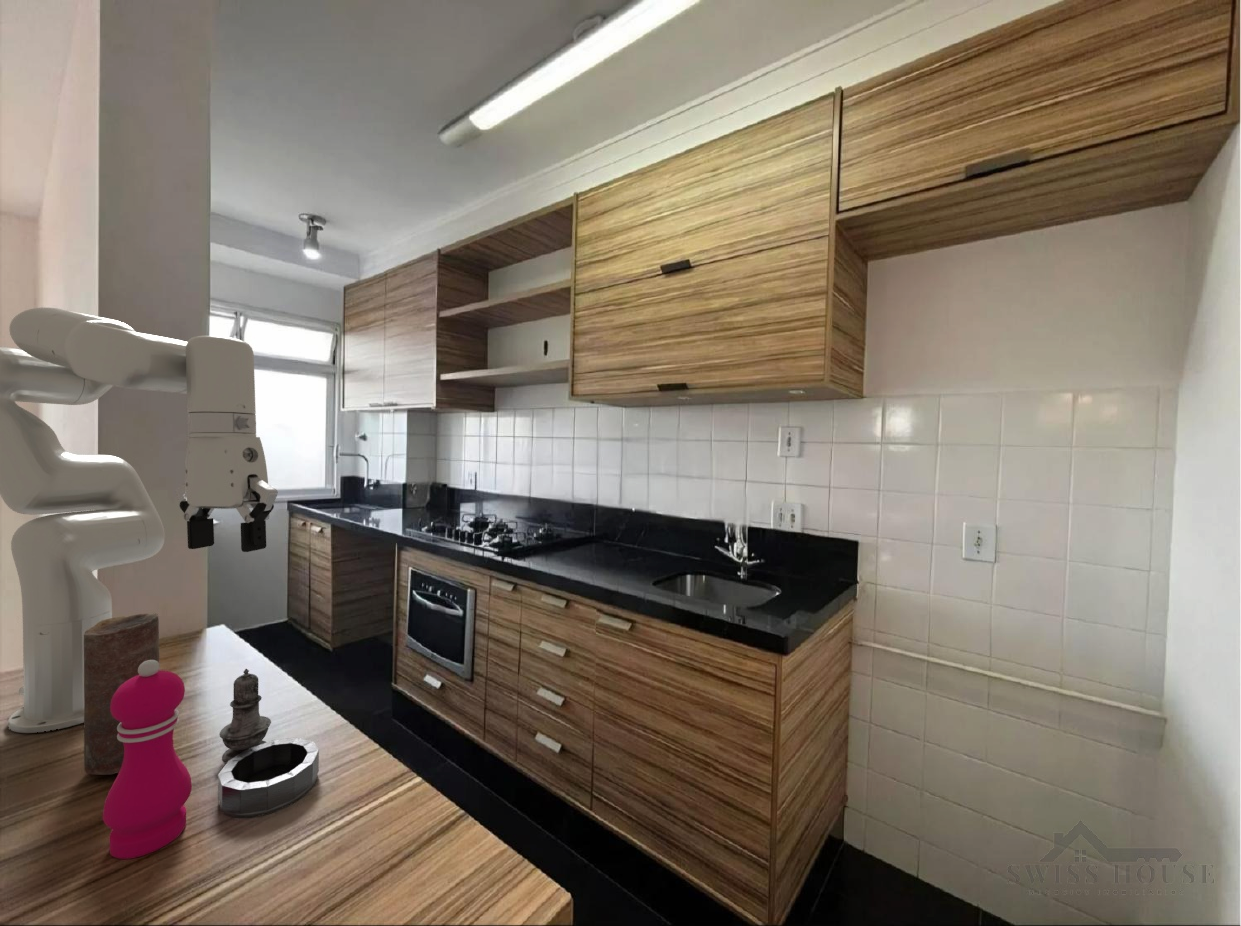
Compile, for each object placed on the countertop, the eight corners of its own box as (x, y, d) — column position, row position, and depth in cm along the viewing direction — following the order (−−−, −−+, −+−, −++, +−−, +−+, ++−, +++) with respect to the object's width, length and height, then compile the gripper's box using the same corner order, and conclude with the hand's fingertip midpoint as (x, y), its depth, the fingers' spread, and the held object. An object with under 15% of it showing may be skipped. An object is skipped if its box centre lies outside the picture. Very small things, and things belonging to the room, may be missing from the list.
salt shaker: (243, 768, 69) (244, 680, 68) (208, 761, 70) (208, 675, 69) (280, 743, 74) (281, 662, 74) (247, 737, 76) (247, 657, 75)
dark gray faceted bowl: (197, 807, 61) (197, 779, 61) (274, 757, 71) (274, 733, 71) (265, 826, 59) (266, 796, 59) (335, 771, 69) (335, 746, 68)
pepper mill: (184, 804, 62) (184, 642, 61) (198, 835, 57) (198, 660, 56) (98, 838, 56) (97, 660, 55) (107, 876, 52) (106, 682, 51)
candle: (135, 782, 65) (134, 628, 64) (66, 788, 64) (64, 631, 63) (173, 746, 73) (173, 608, 72) (112, 751, 71) (111, 610, 70)
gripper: (295, 427, 73) (299, 546, 73) (204, 429, 77) (208, 541, 78) (244, 424, 65) (249, 557, 66) (147, 427, 70) (152, 551, 70)
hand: (227, 548), depth 72 cm, fingers open, 9 cm apart
